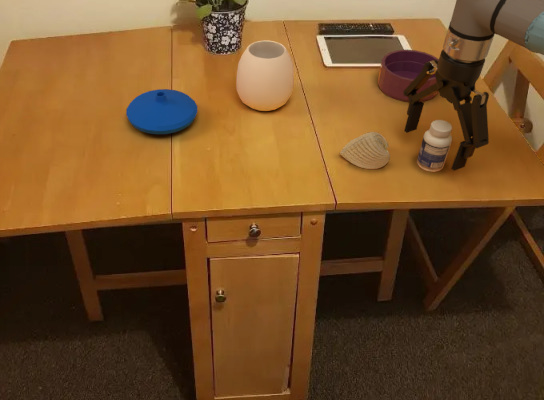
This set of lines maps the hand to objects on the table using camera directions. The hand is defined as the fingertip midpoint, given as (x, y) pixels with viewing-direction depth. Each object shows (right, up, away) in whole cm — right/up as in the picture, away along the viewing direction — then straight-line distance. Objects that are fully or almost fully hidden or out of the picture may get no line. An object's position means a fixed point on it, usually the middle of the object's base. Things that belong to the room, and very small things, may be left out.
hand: (433, 148), depth 117 cm
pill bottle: (0, -3, +3) cm, 4 cm away
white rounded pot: (-33, +13, +20) cm, 40 cm away
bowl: (+3, +17, +24) cm, 30 cm away
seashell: (-12, -2, +4) cm, 13 cm away
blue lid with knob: (-56, +7, +14) cm, 58 cm away
